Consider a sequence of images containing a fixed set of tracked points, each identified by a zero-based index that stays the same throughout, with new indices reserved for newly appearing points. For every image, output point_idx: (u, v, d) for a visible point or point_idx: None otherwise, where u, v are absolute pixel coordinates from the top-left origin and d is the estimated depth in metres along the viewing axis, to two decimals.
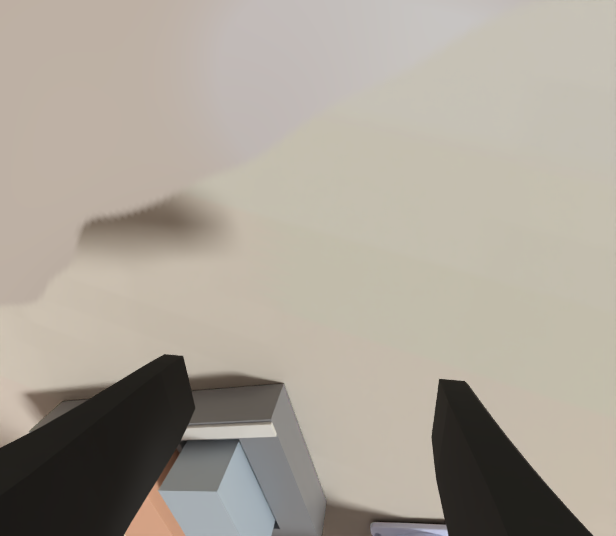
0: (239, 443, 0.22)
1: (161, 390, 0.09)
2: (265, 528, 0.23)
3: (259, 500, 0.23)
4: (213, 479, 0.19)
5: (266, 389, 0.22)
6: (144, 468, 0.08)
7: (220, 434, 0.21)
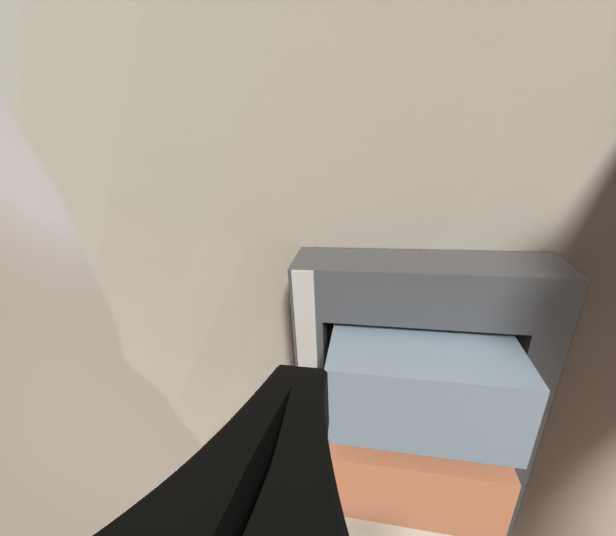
0: (337, 326, 0.16)
1: None
2: (495, 352, 0.14)
3: (444, 339, 0.15)
4: None
5: None
6: None
7: (309, 340, 0.16)
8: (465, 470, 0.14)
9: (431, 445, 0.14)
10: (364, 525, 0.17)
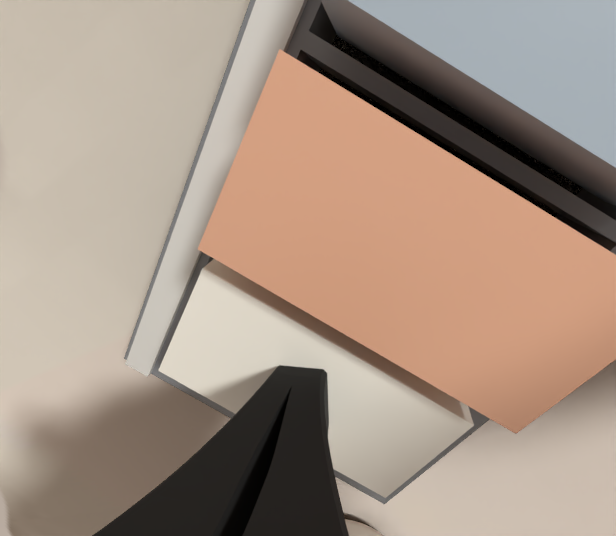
0: None
1: None
2: None
3: None
4: None
5: None
6: None
7: None
8: None
9: (594, 89, 0.05)
10: (267, 298, 0.09)
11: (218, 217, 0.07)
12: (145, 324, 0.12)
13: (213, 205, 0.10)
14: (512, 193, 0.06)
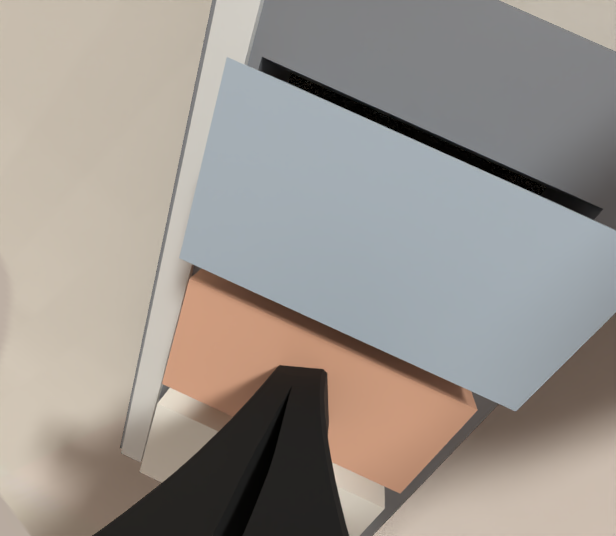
0: (285, 82, 0.08)
1: None
2: None
3: None
4: None
5: None
6: None
7: None
8: (402, 366, 0.09)
9: (374, 318, 0.07)
10: (211, 418, 0.11)
11: (171, 365, 0.10)
12: (131, 423, 0.14)
13: (168, 339, 0.12)
14: (348, 350, 0.08)
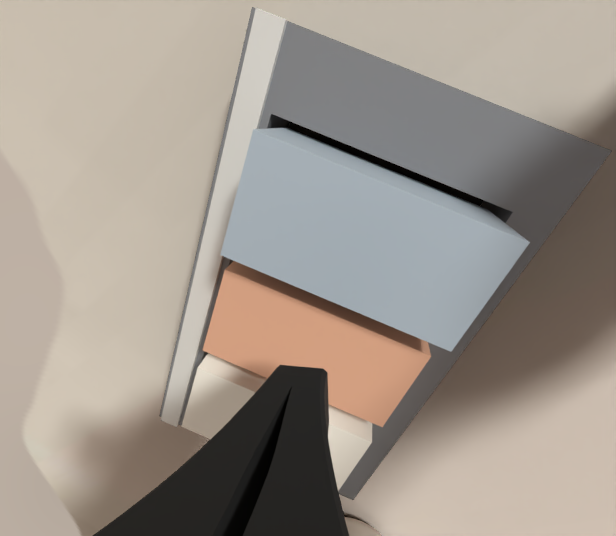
0: (287, 129, 0.12)
1: None
2: (469, 208, 0.11)
3: (413, 182, 0.11)
4: None
5: None
6: None
7: (244, 134, 0.12)
8: (377, 328, 0.12)
9: (352, 291, 0.10)
10: (238, 378, 0.14)
11: (210, 335, 0.13)
12: (170, 393, 0.18)
13: (201, 321, 0.16)
14: (338, 317, 0.12)
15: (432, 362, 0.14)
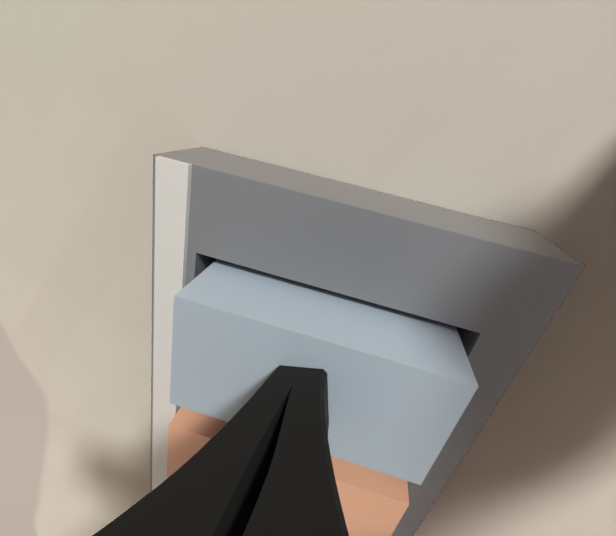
0: None
1: None
2: (421, 326, 0.10)
3: None
4: None
5: None
6: None
7: (172, 276, 0.11)
8: (345, 472, 0.11)
9: None
10: None
11: None
12: None
13: None
14: None
15: None
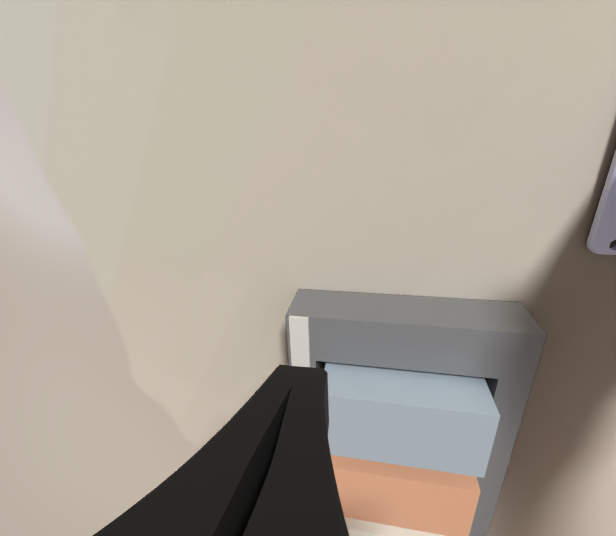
0: None
1: None
2: (461, 380, 0.17)
3: None
4: None
5: None
6: None
7: None
8: (435, 477, 0.17)
9: (406, 457, 0.17)
10: (352, 523, 0.20)
11: None
12: None
13: None
14: (405, 479, 0.17)
15: (488, 476, 0.19)
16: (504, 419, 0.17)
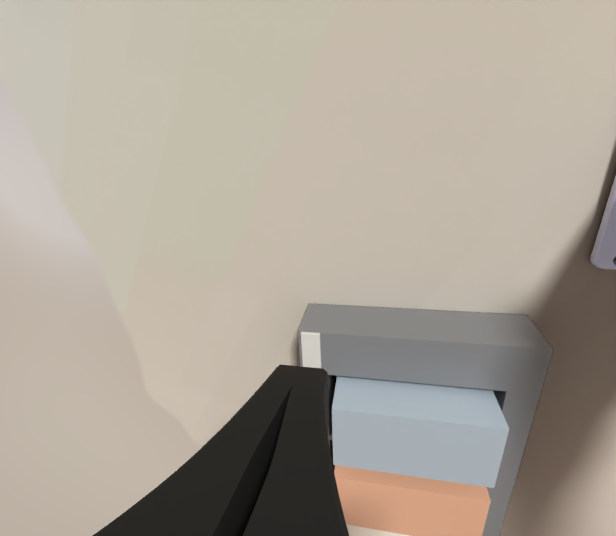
0: None
1: None
2: (470, 392, 0.17)
3: None
4: None
5: None
6: None
7: None
8: (446, 487, 0.18)
9: (418, 468, 0.17)
10: (364, 532, 0.20)
11: None
12: None
13: None
14: (417, 489, 0.18)
15: (497, 484, 0.19)
16: (512, 430, 0.17)
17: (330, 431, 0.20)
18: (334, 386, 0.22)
